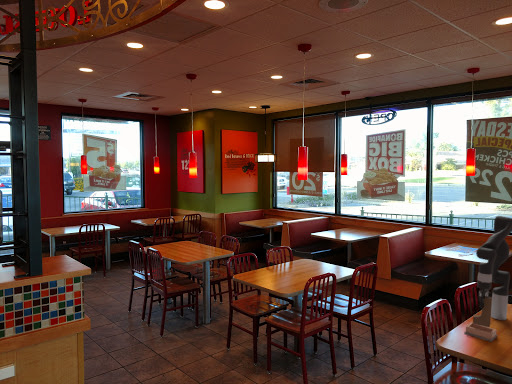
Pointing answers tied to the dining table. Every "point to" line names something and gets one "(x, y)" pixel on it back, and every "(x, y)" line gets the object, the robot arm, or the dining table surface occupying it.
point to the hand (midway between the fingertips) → (482, 306)
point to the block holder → (481, 332)
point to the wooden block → (484, 314)
